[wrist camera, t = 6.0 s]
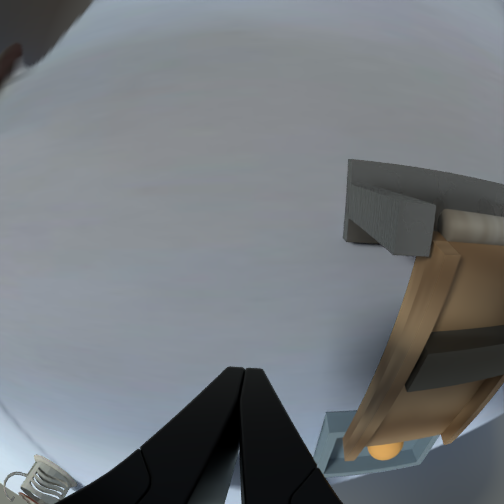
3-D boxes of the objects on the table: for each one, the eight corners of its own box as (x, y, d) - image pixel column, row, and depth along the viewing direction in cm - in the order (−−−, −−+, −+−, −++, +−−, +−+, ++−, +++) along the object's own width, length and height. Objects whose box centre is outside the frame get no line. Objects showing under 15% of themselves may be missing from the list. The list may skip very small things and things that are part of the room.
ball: (408, 460, 19) (411, 425, 21) (372, 466, 19) (376, 430, 21) (393, 453, 22) (396, 422, 24) (361, 458, 23) (364, 425, 24)
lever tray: (444, 422, 20) (451, 445, 17) (342, 436, 20) (344, 464, 18) (552, 222, 10) (580, 244, 8) (426, 202, 11) (457, 228, 9)
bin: (414, 448, 25) (420, 464, 22) (312, 459, 26) (313, 478, 23) (441, 400, 23) (450, 417, 20) (326, 412, 23) (329, 432, 21)
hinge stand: (500, 247, 18) (570, 287, 10) (342, 237, 19) (386, 292, 11) (508, 186, 17) (585, 205, 8) (348, 159, 17) (402, 159, 9)
